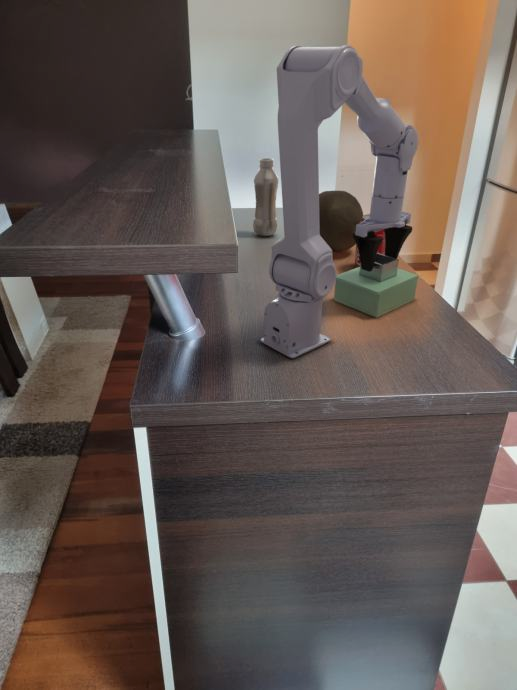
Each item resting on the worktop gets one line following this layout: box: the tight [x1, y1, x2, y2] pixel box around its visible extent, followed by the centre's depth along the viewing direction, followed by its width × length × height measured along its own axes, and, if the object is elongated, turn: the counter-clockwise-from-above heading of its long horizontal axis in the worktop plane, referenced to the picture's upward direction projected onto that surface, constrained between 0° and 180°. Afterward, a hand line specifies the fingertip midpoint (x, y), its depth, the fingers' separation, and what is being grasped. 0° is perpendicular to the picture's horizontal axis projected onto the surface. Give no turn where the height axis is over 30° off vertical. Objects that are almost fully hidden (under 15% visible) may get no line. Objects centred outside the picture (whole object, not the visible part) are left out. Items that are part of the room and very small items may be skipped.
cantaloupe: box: [319, 190, 364, 253], centre depth 127 cm, size 14×14×15 cm
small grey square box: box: [359, 253, 400, 282], centre depth 101 cm, size 5×5×3 cm
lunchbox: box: [333, 277, 419, 318], centre depth 103 cm, size 13×11×5 cm
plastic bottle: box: [252, 157, 280, 237], centre depth 137 cm, size 6×7×20 cm
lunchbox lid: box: [336, 267, 419, 295], centre depth 101 cm, size 13×11×1 cm
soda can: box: [354, 213, 385, 268], centre depth 117 cm, size 7×7×12 cm
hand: (378, 265), depth 100 cm, fingers open, 7 cm apart
